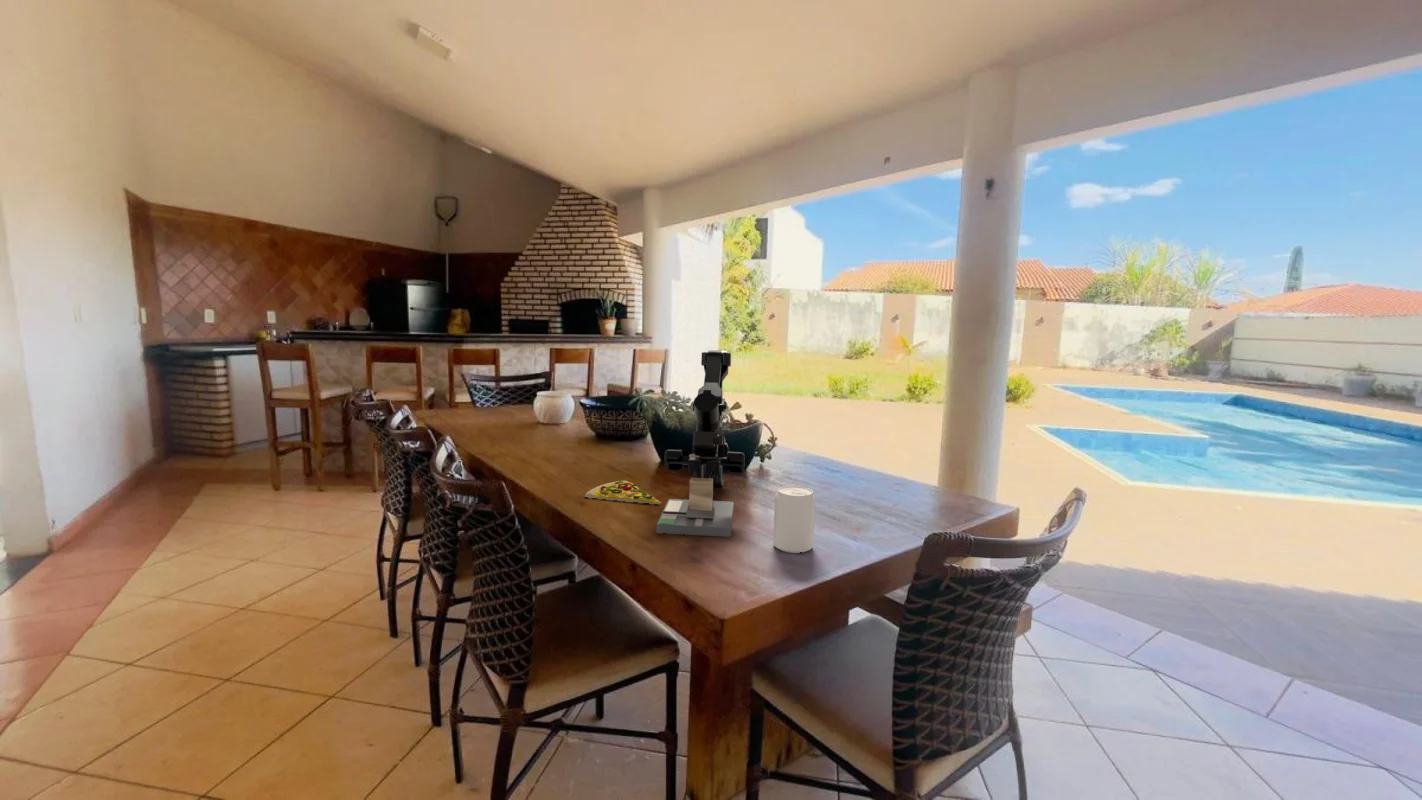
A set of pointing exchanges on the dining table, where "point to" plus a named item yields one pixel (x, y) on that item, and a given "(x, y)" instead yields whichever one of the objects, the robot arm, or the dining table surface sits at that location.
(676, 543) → the dining table surface
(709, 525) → the board
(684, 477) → the dining table surface
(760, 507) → the dining table surface
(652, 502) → the pizza slice
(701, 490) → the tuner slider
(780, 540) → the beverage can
